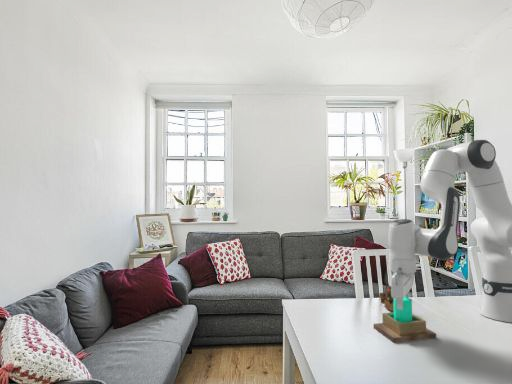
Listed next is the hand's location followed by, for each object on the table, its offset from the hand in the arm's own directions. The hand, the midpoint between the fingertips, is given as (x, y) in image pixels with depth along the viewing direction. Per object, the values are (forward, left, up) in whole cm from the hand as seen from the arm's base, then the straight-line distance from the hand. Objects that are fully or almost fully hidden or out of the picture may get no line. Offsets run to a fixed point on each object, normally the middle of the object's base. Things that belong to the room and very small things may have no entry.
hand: (403, 305), depth 113 cm
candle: (0, 0, -8) cm, 8 cm away
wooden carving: (-9, -21, -10) cm, 25 cm away
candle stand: (0, 0, -10) cm, 10 cm away
